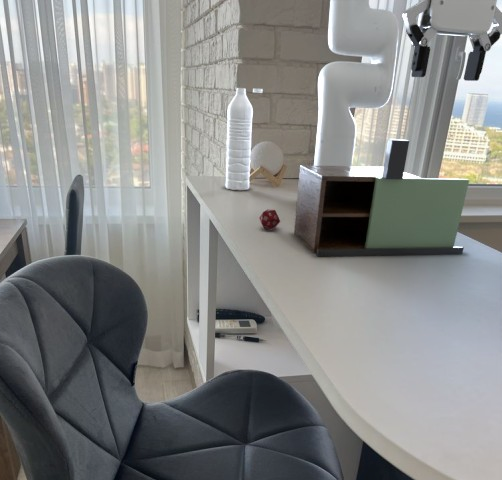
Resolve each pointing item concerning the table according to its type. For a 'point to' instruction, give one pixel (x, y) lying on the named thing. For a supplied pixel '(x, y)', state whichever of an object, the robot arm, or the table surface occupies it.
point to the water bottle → (239, 141)
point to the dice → (269, 219)
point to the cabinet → (343, 212)
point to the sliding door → (413, 206)
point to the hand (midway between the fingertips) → (444, 78)
